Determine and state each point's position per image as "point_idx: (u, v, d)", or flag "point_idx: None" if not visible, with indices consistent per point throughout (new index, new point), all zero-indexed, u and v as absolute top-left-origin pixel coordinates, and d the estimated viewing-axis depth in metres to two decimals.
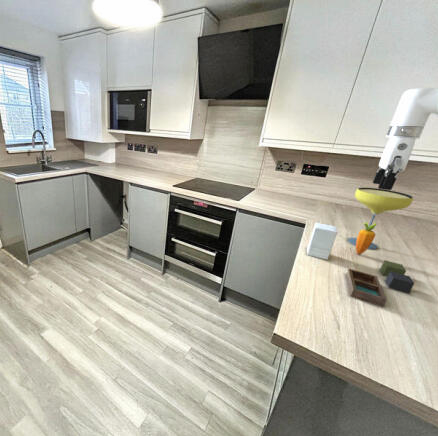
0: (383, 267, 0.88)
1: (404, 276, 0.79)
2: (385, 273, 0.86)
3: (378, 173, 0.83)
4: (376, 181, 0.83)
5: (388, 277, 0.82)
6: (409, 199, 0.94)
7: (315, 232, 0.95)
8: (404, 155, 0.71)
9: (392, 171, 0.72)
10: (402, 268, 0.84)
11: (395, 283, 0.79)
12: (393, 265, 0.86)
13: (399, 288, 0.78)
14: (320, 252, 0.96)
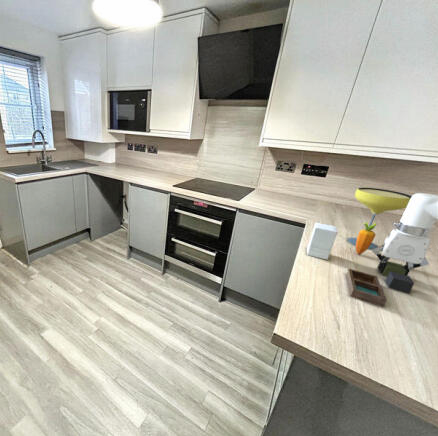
0: None
1: (404, 276, 0.79)
2: (385, 273, 0.86)
3: (403, 266, 0.86)
4: None
5: (388, 277, 0.82)
6: (409, 199, 0.94)
7: (315, 232, 0.95)
8: (386, 242, 0.85)
9: None
10: (402, 268, 0.84)
11: (395, 283, 0.79)
12: (393, 265, 0.86)
13: (399, 288, 0.78)
14: (320, 252, 0.96)
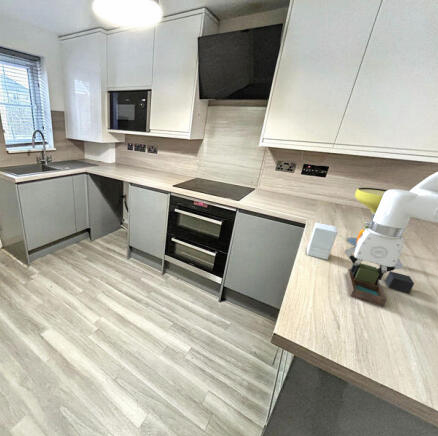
0: None
1: (404, 276, 0.79)
2: (357, 276, 0.79)
3: (377, 269, 0.79)
4: None
5: (388, 277, 0.82)
6: None
7: (315, 232, 0.95)
8: (358, 243, 0.78)
9: None
10: (375, 271, 0.77)
11: (395, 283, 0.79)
12: (366, 268, 0.79)
13: (399, 288, 0.78)
14: (320, 252, 0.96)
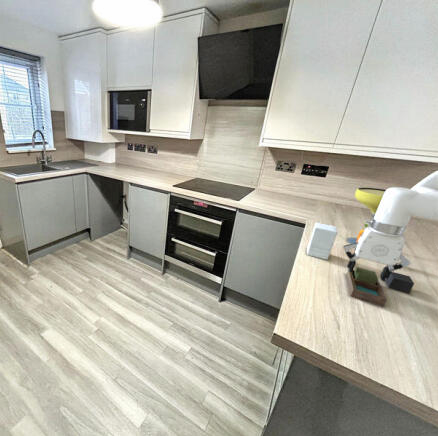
0: (355, 274, 0.82)
1: (404, 276, 0.79)
2: None
3: (384, 267, 0.77)
4: (380, 275, 0.78)
5: None
6: None
7: (315, 232, 0.95)
8: (359, 242, 0.77)
9: None
10: (374, 276, 0.78)
11: (395, 283, 0.79)
12: (365, 273, 0.79)
13: (399, 288, 0.78)
14: (320, 252, 0.96)
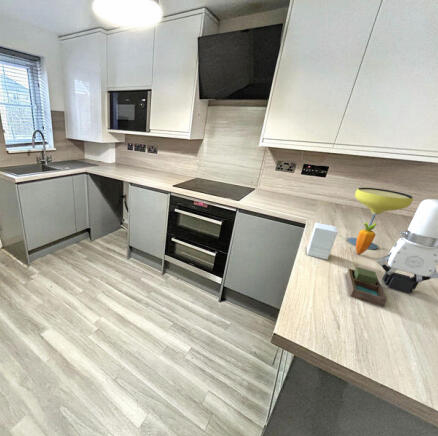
0: (355, 274, 0.82)
1: (404, 276, 0.79)
2: None
3: (411, 278, 0.79)
4: None
5: None
6: (409, 199, 0.94)
7: (315, 232, 0.95)
8: (392, 252, 0.78)
9: None
10: (374, 276, 0.78)
11: (395, 283, 0.79)
12: (365, 273, 0.79)
13: (399, 288, 0.78)
14: (320, 252, 0.96)
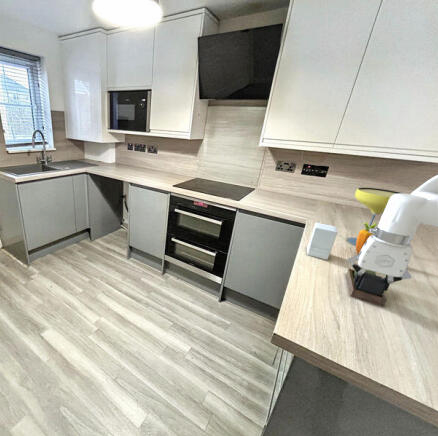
0: (355, 274, 0.82)
1: (375, 277, 0.74)
2: None
3: None
4: None
5: None
6: None
7: (315, 232, 0.95)
8: (362, 251, 0.72)
9: None
10: None
11: (365, 284, 0.73)
12: None
13: (370, 290, 0.73)
14: (320, 252, 0.96)
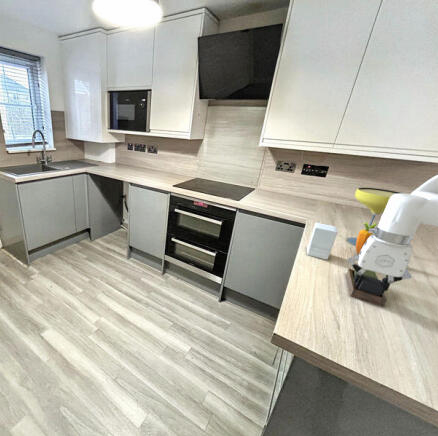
0: (355, 274, 0.82)
1: (374, 280, 0.74)
2: None
3: (383, 279, 0.73)
4: None
5: None
6: None
7: (315, 232, 0.95)
8: (362, 251, 0.72)
9: None
10: (374, 276, 0.78)
11: (364, 287, 0.73)
12: (365, 273, 0.79)
13: (368, 292, 0.73)
14: (320, 252, 0.96)
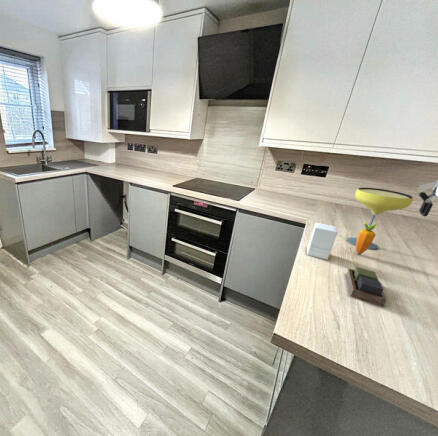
0: (355, 274, 0.82)
1: (374, 281, 0.74)
2: None
3: None
4: None
5: (358, 282, 0.77)
6: (409, 199, 0.94)
7: (315, 232, 0.95)
8: None
9: (418, 193, 0.70)
10: (374, 276, 0.78)
11: (364, 289, 0.74)
12: (365, 273, 0.79)
13: None
14: (320, 252, 0.96)
